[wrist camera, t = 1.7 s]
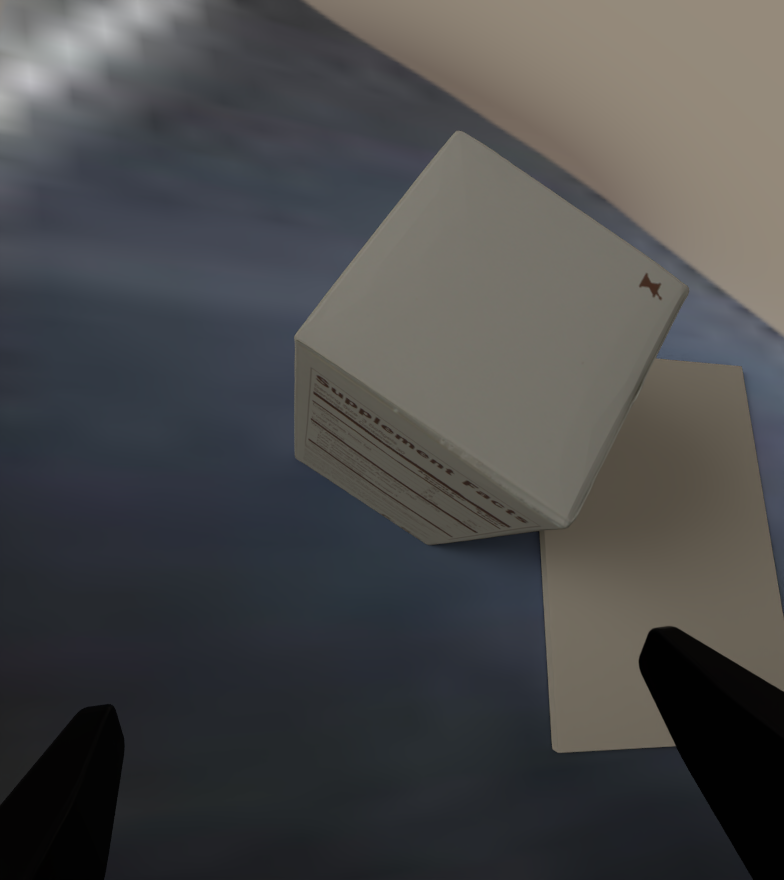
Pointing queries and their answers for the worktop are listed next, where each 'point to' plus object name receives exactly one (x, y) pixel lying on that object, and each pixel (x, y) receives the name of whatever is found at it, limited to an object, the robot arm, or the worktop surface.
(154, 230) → the worktop surface
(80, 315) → the worktop surface
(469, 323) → the supplement box
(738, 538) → the grey mat
